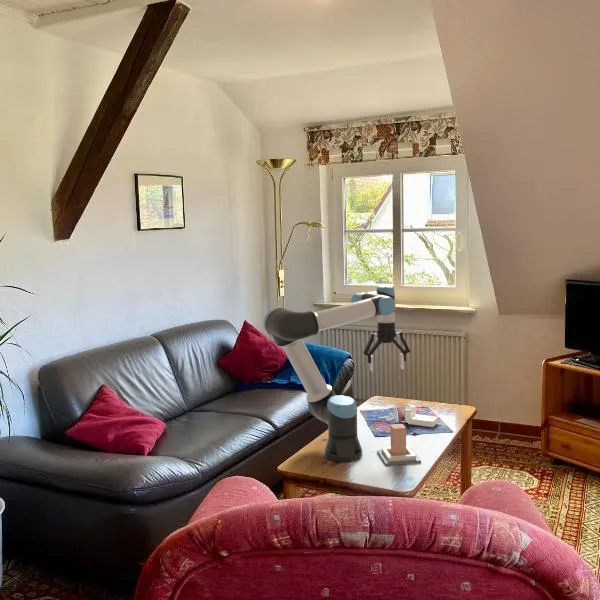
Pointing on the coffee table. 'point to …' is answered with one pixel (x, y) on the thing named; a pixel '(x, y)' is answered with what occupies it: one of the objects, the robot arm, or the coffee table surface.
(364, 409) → the coffee table surface
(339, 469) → the coffee table surface
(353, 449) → the robot arm
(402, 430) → the block
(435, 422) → the bracket
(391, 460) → the seat frame
